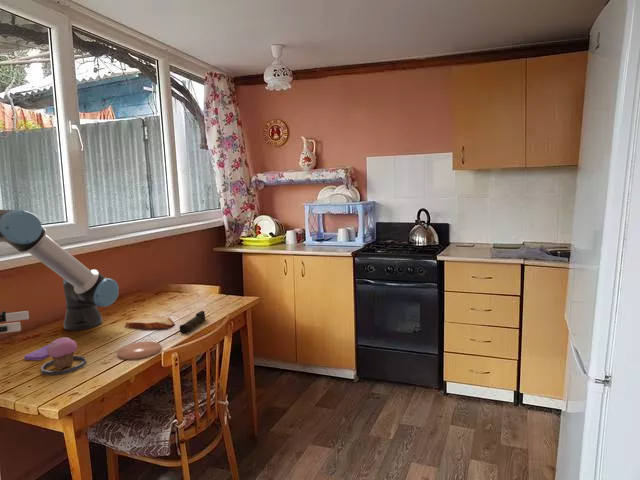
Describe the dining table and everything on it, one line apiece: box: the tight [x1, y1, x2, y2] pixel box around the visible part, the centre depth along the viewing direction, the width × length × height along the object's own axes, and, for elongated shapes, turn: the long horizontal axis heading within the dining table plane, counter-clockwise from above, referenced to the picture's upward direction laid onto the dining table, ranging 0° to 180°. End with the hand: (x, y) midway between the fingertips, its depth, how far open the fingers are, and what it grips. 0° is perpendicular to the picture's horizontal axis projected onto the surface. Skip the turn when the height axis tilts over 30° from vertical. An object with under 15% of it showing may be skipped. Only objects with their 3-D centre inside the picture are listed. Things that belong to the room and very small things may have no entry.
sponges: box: [23, 343, 51, 361], centre depth 171 cm, size 7×13×2 cm, turn 170°
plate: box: [116, 341, 162, 361], centre depth 169 cm, size 15×15×1 cm
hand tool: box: [179, 310, 206, 335], centre depth 196 cm, size 19×4×5 cm, turn 166°
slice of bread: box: [124, 316, 175, 331], centre depth 198 cm, size 18×18×4 cm
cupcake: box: [47, 337, 78, 370], centre depth 157 cm, size 9×9×10 cm
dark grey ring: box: [40, 355, 87, 376], centre depth 157 cm, size 13×13×1 cm
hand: (24, 320), depth 151 cm, fingers open, 13 cm apart
